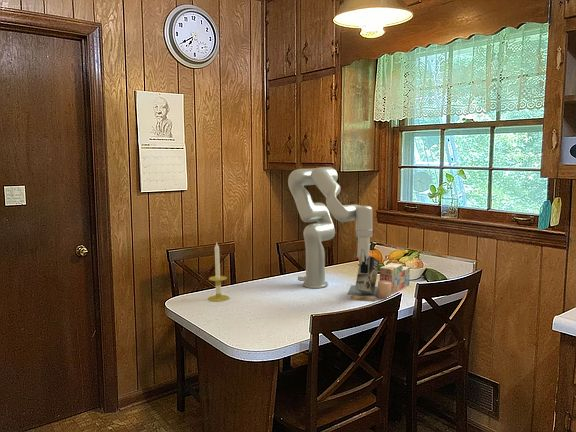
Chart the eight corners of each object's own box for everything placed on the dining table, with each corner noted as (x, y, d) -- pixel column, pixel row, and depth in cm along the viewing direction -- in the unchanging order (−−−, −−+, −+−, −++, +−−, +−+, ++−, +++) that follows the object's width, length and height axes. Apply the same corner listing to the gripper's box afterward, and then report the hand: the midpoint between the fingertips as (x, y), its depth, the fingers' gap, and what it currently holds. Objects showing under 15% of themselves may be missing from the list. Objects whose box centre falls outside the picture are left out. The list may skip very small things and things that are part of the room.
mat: (347, 294, 227) (347, 294, 227) (351, 286, 242) (351, 285, 242) (381, 296, 223) (381, 295, 223) (383, 287, 239) (383, 286, 238)
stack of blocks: (397, 283, 246) (398, 259, 244) (409, 285, 242) (410, 261, 240) (378, 292, 229) (379, 267, 227) (391, 294, 225) (392, 269, 223)
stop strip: (350, 300, 218) (350, 296, 218) (350, 299, 220) (350, 295, 219) (375, 301, 216) (375, 297, 216) (375, 300, 217) (375, 296, 217)
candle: (214, 294, 231) (212, 239, 228) (233, 296, 228) (231, 240, 225) (203, 300, 222) (201, 243, 219) (223, 302, 219) (221, 244, 215)
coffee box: (367, 291, 218) (373, 256, 222) (354, 289, 222) (360, 255, 225) (374, 294, 226) (380, 261, 229) (361, 292, 229) (367, 259, 233)
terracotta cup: (376, 298, 220) (377, 283, 218) (377, 293, 226) (378, 279, 224) (390, 299, 218) (391, 285, 217) (390, 295, 224) (391, 280, 223)
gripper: (357, 230, 227) (357, 268, 229) (353, 235, 212) (354, 276, 215) (373, 230, 225) (373, 269, 227) (371, 235, 210) (371, 277, 213)
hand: (364, 272), depth 221 cm, fingers closed
